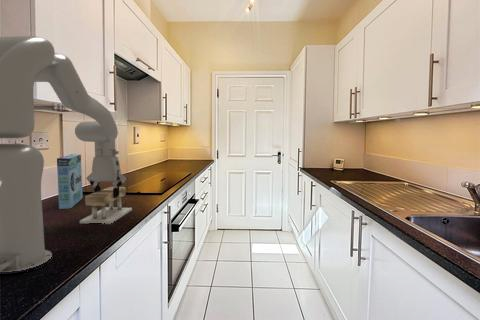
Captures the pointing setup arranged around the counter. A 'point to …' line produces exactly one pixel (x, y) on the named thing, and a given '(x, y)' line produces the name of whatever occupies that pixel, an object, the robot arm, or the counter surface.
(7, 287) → the counter surface
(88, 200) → the oak shelf board
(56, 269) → the counter surface
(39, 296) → the counter surface
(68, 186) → the light blue carton
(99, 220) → the peg stand
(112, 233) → the counter surface
